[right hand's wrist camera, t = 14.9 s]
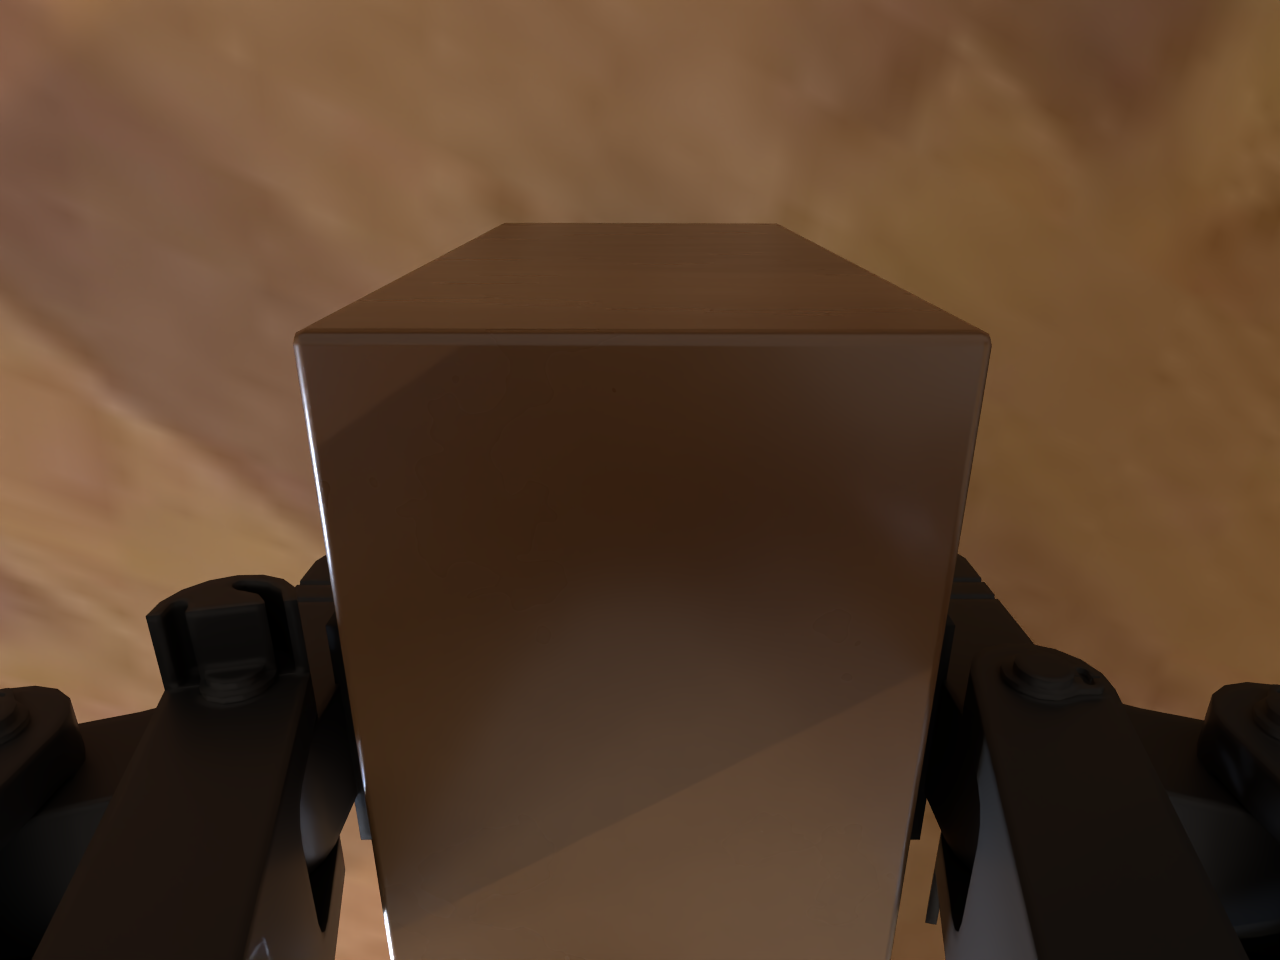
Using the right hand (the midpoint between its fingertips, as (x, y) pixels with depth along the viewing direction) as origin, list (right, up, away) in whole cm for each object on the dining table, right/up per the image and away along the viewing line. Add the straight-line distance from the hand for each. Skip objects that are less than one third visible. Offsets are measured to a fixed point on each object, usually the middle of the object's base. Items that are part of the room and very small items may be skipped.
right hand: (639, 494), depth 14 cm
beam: (0, -21, +9) cm, 23 cm away
